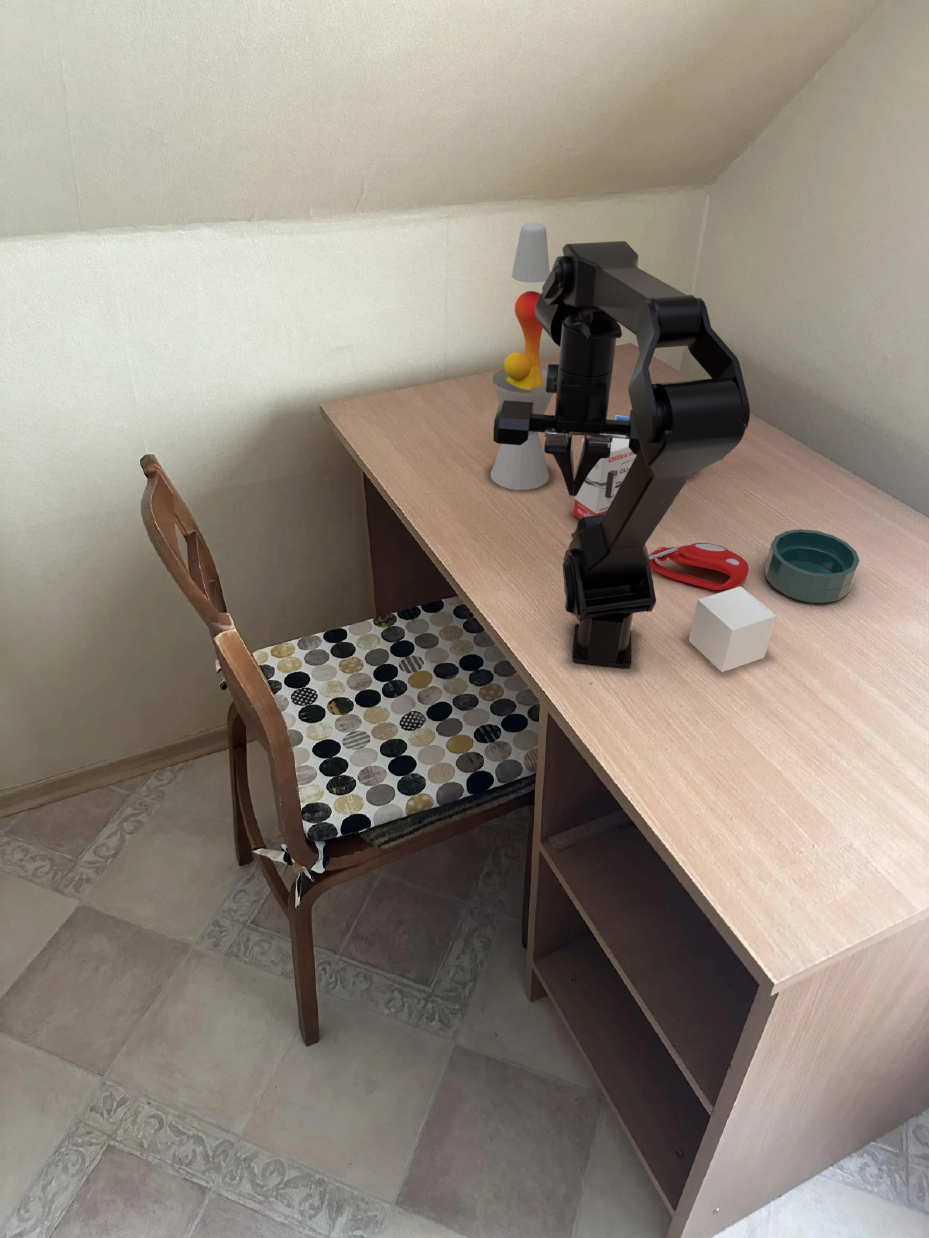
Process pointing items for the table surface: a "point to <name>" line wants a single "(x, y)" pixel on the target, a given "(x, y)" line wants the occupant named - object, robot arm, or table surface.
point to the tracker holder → (702, 564)
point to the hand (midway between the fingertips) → (572, 494)
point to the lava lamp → (525, 368)
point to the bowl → (811, 566)
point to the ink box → (604, 480)
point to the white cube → (731, 628)
